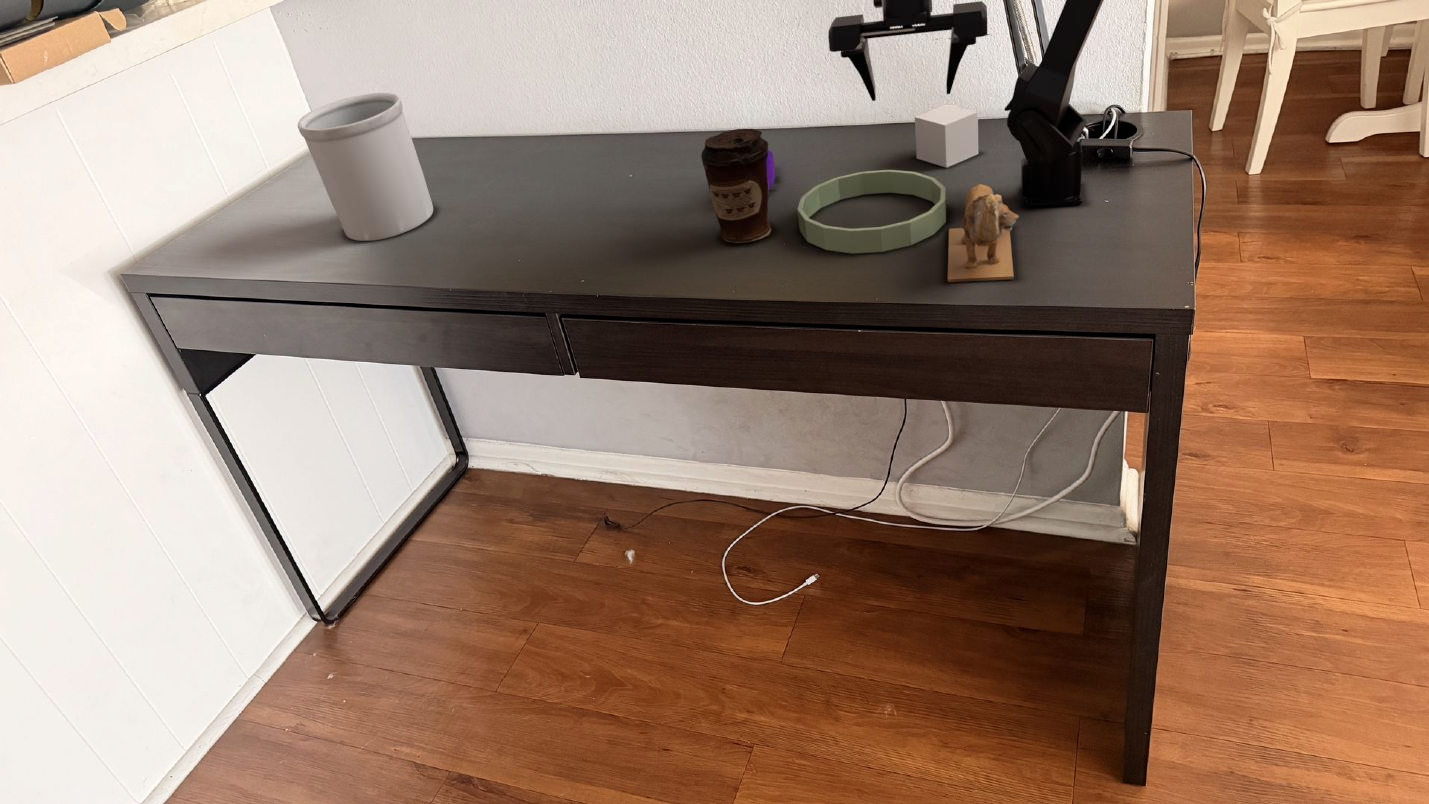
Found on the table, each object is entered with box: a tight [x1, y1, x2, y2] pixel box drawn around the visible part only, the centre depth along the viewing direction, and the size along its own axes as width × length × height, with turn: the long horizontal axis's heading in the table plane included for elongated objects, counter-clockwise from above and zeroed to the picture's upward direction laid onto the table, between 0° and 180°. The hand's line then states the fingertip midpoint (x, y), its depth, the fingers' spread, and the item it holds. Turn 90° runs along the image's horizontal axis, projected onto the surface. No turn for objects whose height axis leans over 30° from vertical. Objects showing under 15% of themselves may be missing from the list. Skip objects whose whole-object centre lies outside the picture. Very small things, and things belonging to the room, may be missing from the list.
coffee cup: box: [700, 128, 772, 244], centre depth 129 cm, size 9×8×13 cm
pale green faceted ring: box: [796, 169, 947, 254], centre depth 129 cm, size 18×18×3 cm
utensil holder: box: [297, 92, 434, 242], centre depth 151 cm, size 15×15×18 cm
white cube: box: [914, 103, 979, 168], centre depth 142 cm, size 6×6×6 cm
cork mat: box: [947, 227, 1014, 283], centre depth 118 cm, size 7×13×1 cm, turn 169°
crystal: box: [767, 149, 776, 191], centre depth 145 cm, size 5×5×15 cm
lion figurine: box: [961, 183, 1019, 268], centre depth 115 cm, size 15×5×9 cm, turn 179°
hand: (910, 96), depth 129 cm, fingers open, 9 cm apart
